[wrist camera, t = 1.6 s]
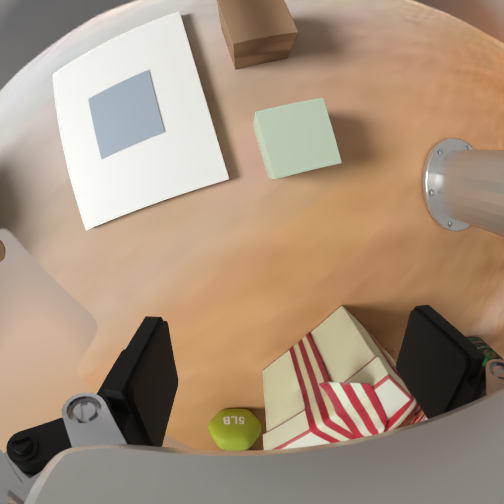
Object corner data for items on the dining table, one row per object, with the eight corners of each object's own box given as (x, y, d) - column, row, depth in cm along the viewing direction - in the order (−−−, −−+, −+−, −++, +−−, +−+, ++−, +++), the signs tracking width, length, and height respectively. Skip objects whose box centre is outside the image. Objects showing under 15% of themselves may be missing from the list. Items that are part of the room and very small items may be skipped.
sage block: (305, 113, 28) (322, 97, 21) (320, 164, 29) (341, 162, 23) (252, 125, 28) (255, 111, 21) (268, 177, 30) (275, 179, 23)
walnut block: (271, 19, 24) (278, -12, 17) (287, 58, 26) (298, 32, 19) (221, 29, 24) (216, -2, 18) (235, 69, 26) (233, 43, 19)
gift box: (320, 283, 33) (377, 376, 17) (398, 350, 37) (454, 427, 20) (232, 371, 36) (228, 477, 20) (320, 418, 40) (343, 501, 24)
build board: (181, 15, 23) (179, 10, 22) (229, 178, 29) (228, 179, 28) (57, 76, 24) (51, 74, 23) (90, 228, 30) (85, 230, 29)
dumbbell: (261, 456, 43) (263, 485, 36) (220, 456, 43) (218, 486, 36) (261, 403, 39) (263, 439, 32) (209, 404, 38) (204, 439, 32)
